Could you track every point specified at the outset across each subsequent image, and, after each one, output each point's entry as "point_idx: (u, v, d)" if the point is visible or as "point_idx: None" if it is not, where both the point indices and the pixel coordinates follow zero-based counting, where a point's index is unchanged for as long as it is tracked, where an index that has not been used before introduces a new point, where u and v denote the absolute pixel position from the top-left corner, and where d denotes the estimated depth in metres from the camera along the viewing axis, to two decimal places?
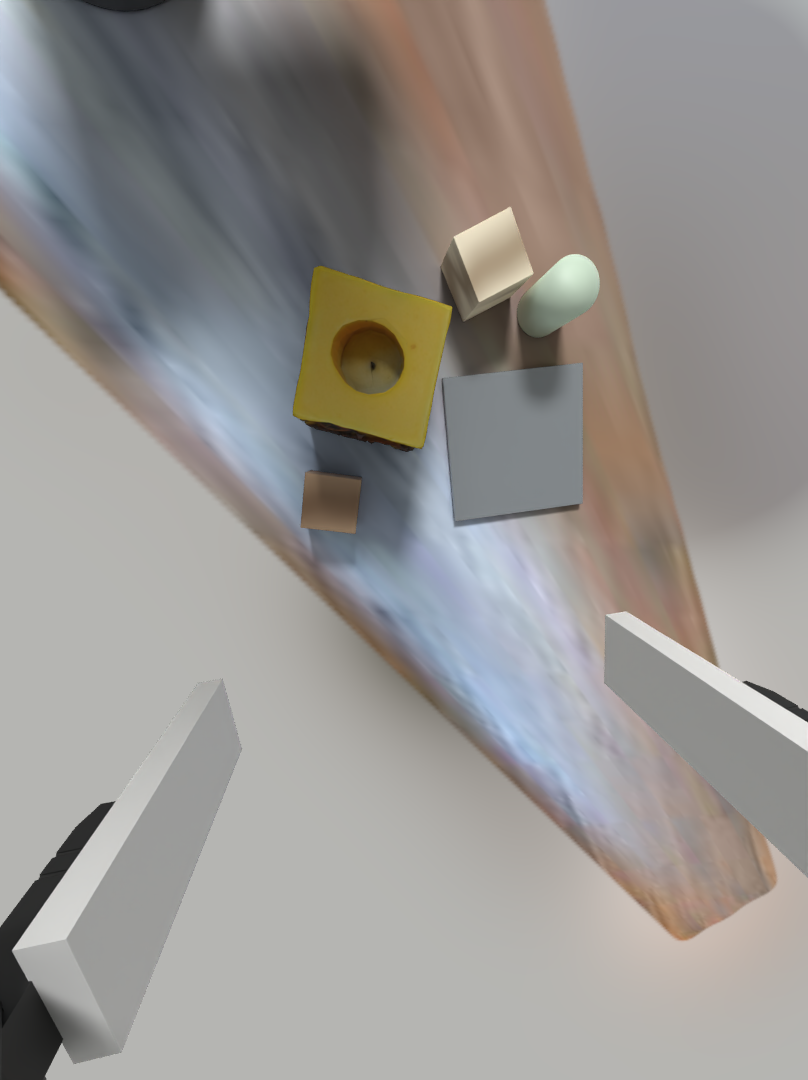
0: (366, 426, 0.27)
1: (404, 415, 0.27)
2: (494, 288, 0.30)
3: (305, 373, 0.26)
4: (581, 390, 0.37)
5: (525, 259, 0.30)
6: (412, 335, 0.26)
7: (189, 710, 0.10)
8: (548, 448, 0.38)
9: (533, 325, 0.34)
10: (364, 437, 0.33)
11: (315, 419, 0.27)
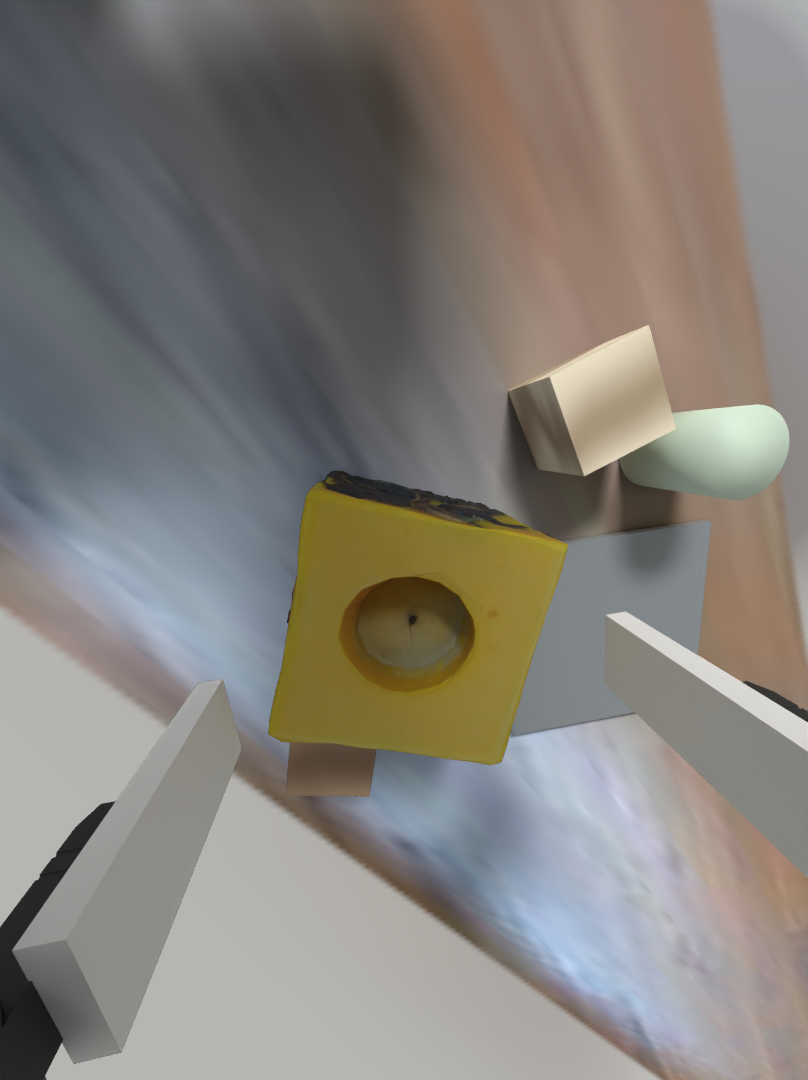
0: (402, 742, 0.15)
1: (470, 719, 0.15)
2: (611, 454, 0.18)
3: (291, 671, 0.14)
4: (706, 558, 0.25)
5: (665, 407, 0.18)
6: (492, 595, 0.14)
7: (189, 710, 0.10)
8: None
9: (652, 482, 0.22)
10: None
11: (310, 740, 0.14)
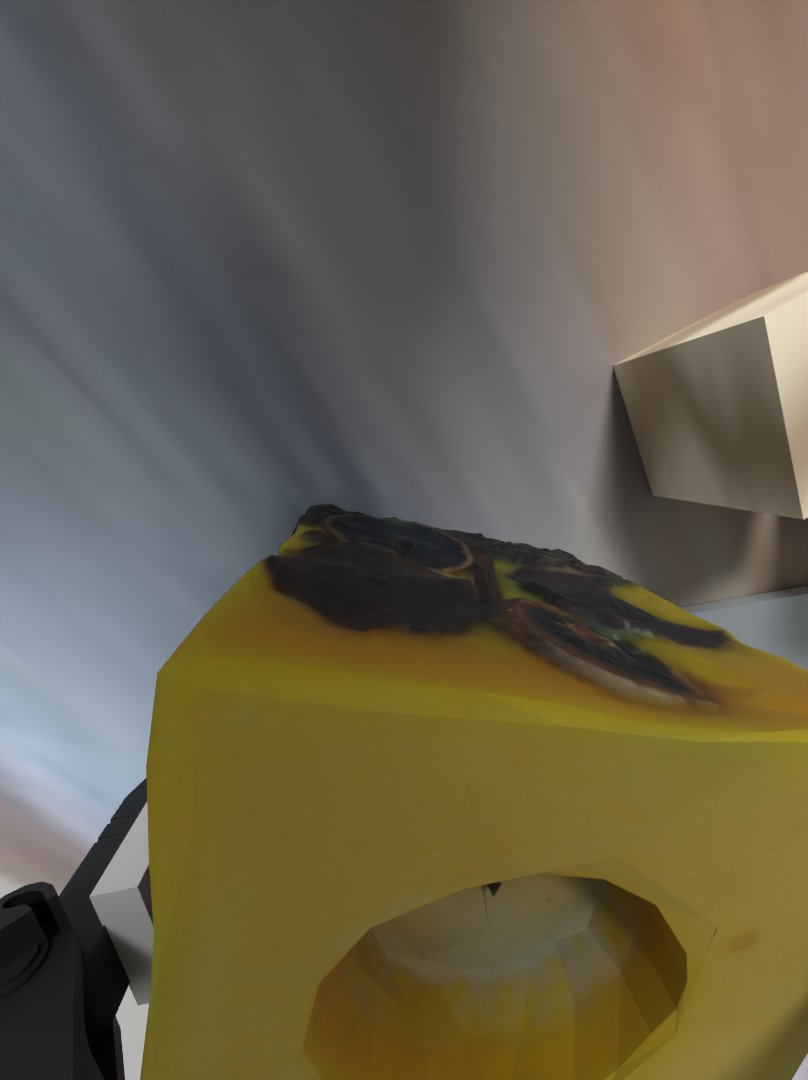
0: None
1: None
2: None
3: None
4: None
5: None
6: (751, 899, 0.05)
7: None
8: None
9: None
10: None
11: None
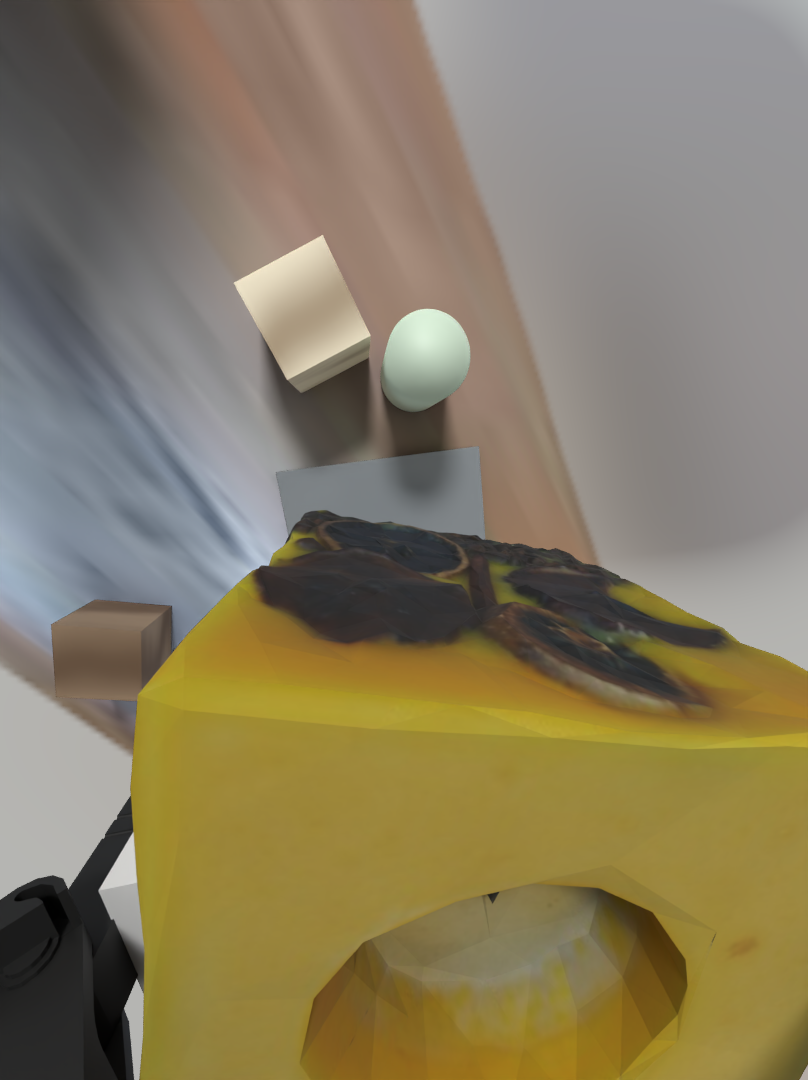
0: None
1: None
2: (310, 359, 0.20)
3: None
4: (479, 482, 0.27)
5: (355, 314, 0.19)
6: (749, 904, 0.05)
7: None
8: None
9: (396, 401, 0.23)
10: None
11: None
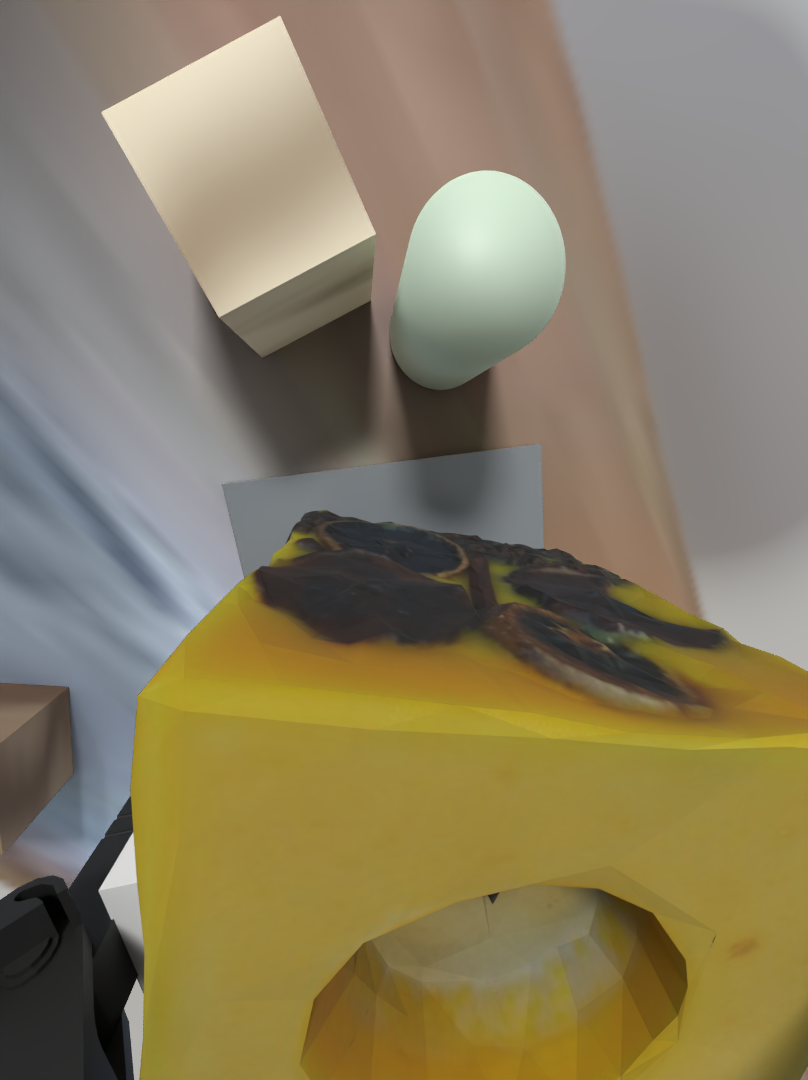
0: None
1: None
2: (261, 277, 0.10)
3: None
4: (540, 500, 0.17)
5: (346, 190, 0.10)
6: (749, 905, 0.05)
7: None
8: None
9: (417, 369, 0.14)
10: None
11: None
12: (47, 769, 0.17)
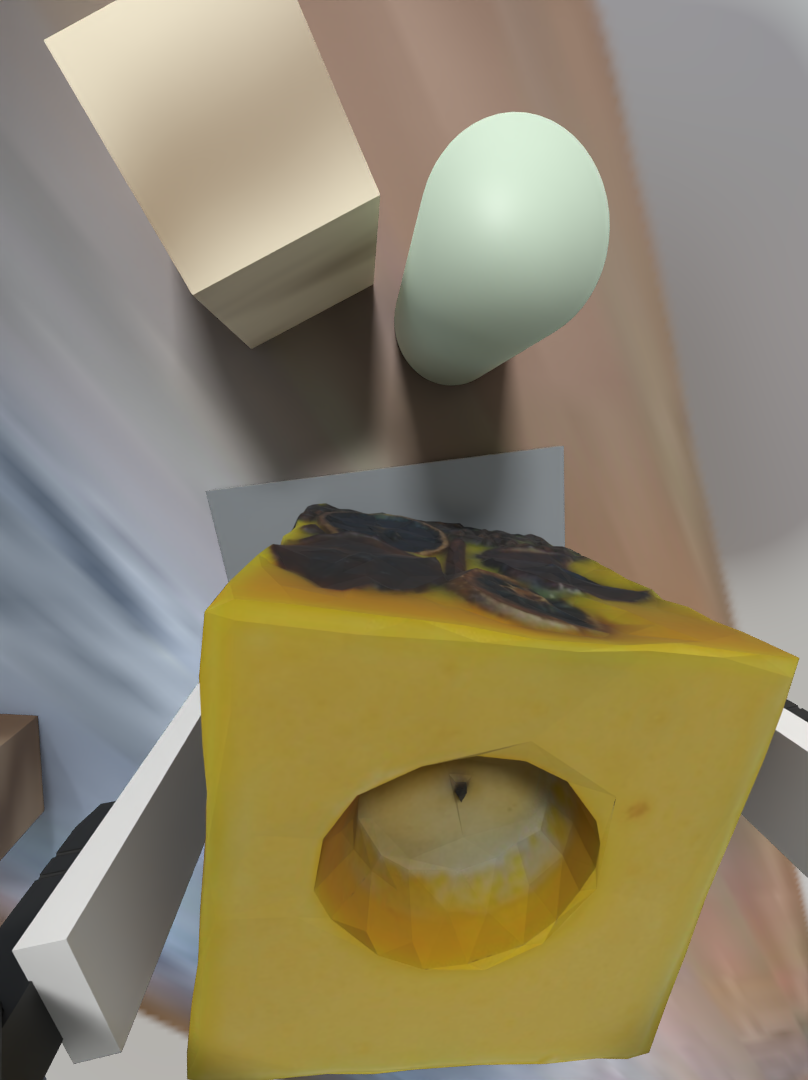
0: (461, 1049, 0.08)
1: (590, 993, 0.08)
2: (243, 247, 0.09)
3: (219, 968, 0.06)
4: (561, 508, 0.16)
5: (345, 141, 0.08)
6: (638, 775, 0.06)
7: (189, 710, 0.10)
8: None
9: (426, 360, 0.12)
10: None
11: (276, 1074, 0.07)
12: (11, 809, 0.15)
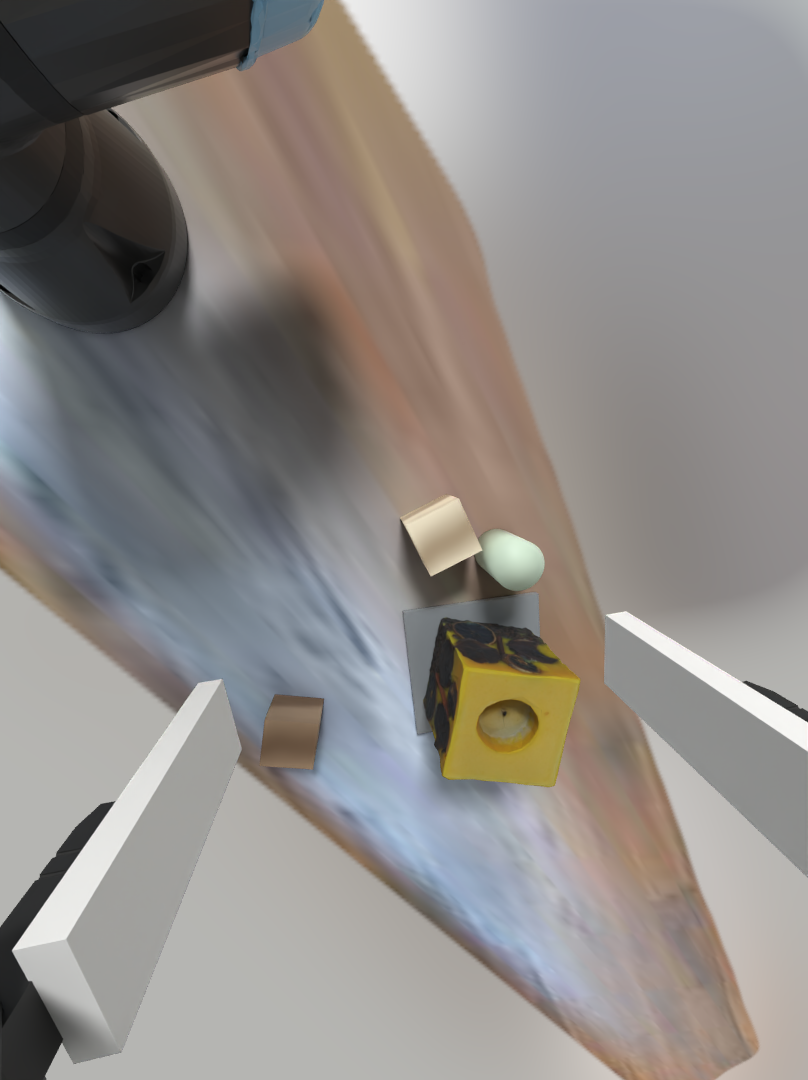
0: (505, 777, 0.30)
1: (538, 764, 0.30)
2: (445, 564, 0.32)
3: (454, 746, 0.29)
4: (538, 617, 0.39)
5: (474, 539, 0.32)
6: (546, 705, 0.29)
7: (189, 710, 0.10)
8: None
9: None
10: None
11: (462, 778, 0.30)
12: (318, 735, 0.38)
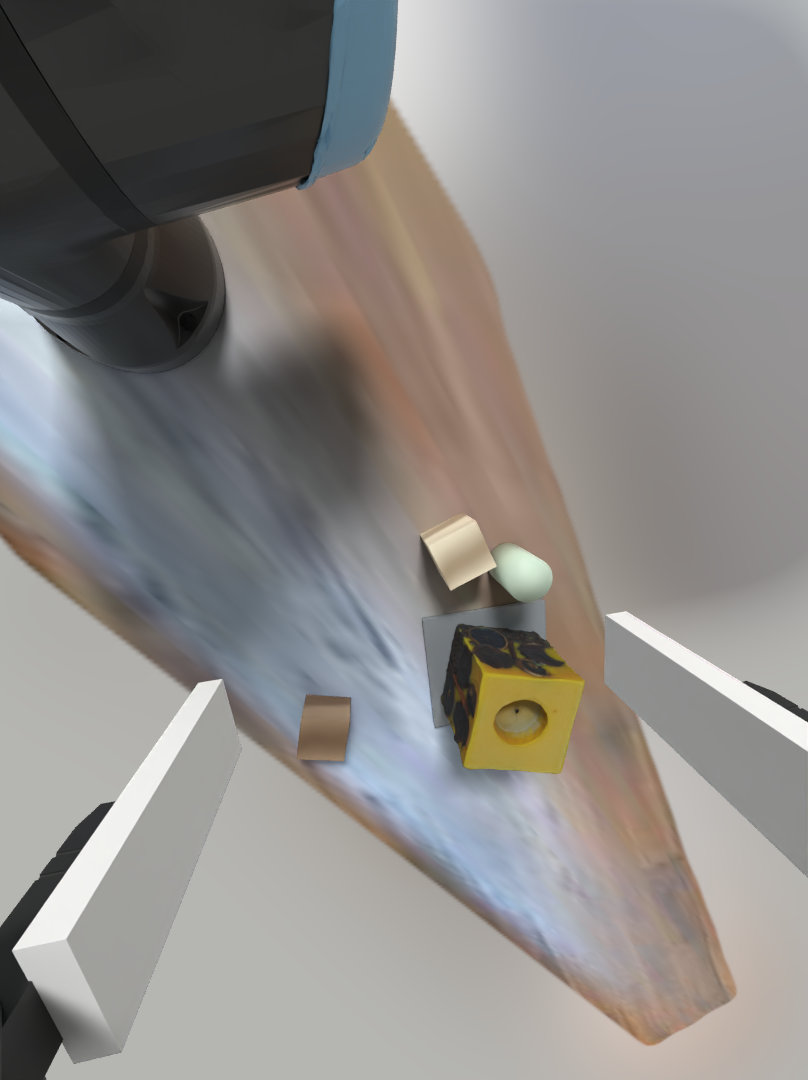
0: (518, 766, 0.35)
1: (546, 754, 0.35)
2: (463, 579, 0.36)
3: (474, 740, 0.33)
4: (544, 621, 0.43)
5: (489, 556, 0.35)
6: (554, 704, 0.33)
7: (189, 710, 0.10)
8: None
9: None
10: None
11: (480, 767, 0.34)
12: None
